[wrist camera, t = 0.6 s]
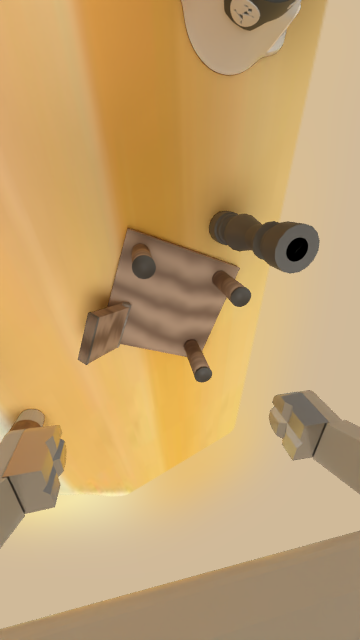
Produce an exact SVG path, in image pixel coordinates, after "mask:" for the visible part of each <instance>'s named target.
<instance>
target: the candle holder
mask: <svg viewBox="0 0 360 640" xmlns="http://www.w3.org/2000/svg"><path fill="white" fill-rule="evenodd" d="M209 232H210V235H211V237H212V238H213V239H214V240H215V241H217V242H219V243H221V244H224V245H228V246H230V247H231V248H232V249H233V250H237V251H246V250H253V252H254V254H255V255H256V256H257V257H258V258H260V259H263V260H265V261H266V262H267V263H268V264H269V265H270V266H272V267H274V268H277V269H279V270H281V271H283V272H287V273H295V272H300V271H301V270H303V269H305V268H306V267H307V266H308V265H309V264H310V263H311V262H312V261H313V260H314V258H315V256H316V254H317V251H318V248H319V238H318V233H317V231H316V230H315V229H314V228H313V227H312V226H309V225H306V224H302V223H295V222H282V223H278V222H275V221H273V222H267V223H265V224H263V225H262V224H261V223H260V222H258V221H257V220H256V219H255V218H254V217H253V216H251V215H248V214H239V215H238V214H237V213H234V212H229V211H222V212H219V213H217V214H216V215H214V217H213V218H212V220H211V222H210V225H209Z"/></svg>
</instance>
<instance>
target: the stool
mask: <svg viewBox="0 0 360 640" xmlns="http://www.w3.org/2000/svg"><path fill="white" fill-rule="evenodd" d="M239 269H240V268H239V267H237V266H235V265H232V264H230V263H227V262H224V261H221V260H218V259H215V258H212V257H210V256H207V255H204V254H201V253H198V252H195V251H193V250H190V249H187V248H184V247H181V246H178V245H176V244H173V243H170V242H167V241H164V240H161V239H159V238H156V237H153V236H150V235H147V234H144V233H142V232H139V231H136V230H133V229H130V228H128V229H127V233H126V237H125V241H124V245H123V249H122V252H121V256H120V260H119V264H118V268H117V272H116V276H115V280H114V284H113V288H112V292H111V295H110V299H109V303H108V307H111V306H114V305H118V304H122V302H127V303H130V304H131V309H130V312H129V315H128V319H127V322H126V326H125V329H124V332H123V336H122V339H121V342H120V344H124V345H129V346H134V347H139V348H144V349H149V350H154V351H160V352H165V353H170V354H175V355H180V356H185V357H188V360H189V362H190V365H191V368H192V371H193V373H194V377H195V379H196V380H197V381H198V382H206V381H208V380H209V379H210V378H211V376H212V371H211V369H210V368H209V366H208V364H207V361H206V359H205V357H204V355H203V353H202V350H203V348H204V345H205V343H206V341H207V339H208V337H209V335H210V332H211V330H212V328H213V326H214V324H215V321H216V319H217V317H218V315H219V313H220V310H221V308H222V306H223V304H224V302H225V300H226V297H227V298H228V299H229V300H230V301H231V302H232V303H233V304H234V305H235V306H237V307H242V306H244V305H246V304H247V303H248V302H249V300H250V298H251V293H250V291H249V289H247V288H246V287H244V286H243V285H242V284H240V283H239V282H238V281H236V280H235V278H236V275H237V273H238V271H239ZM108 307H107V308H108Z"/></svg>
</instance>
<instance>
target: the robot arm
mask: <svg viewBox="0 0 360 640" xmlns="http://www.w3.org/2000/svg"><path fill="white" fill-rule="evenodd" d="M181 1H182V6H183V12H184V18H185V24H186V29H187V32H188V36H189V38H190V41H191V44H192V46H193V48H194V50H195V51H196V53H197V55H198V56H199V58H200V59H201V60H202V61H203V62H204V63H205V64H206V65H207V66H208V67H209V68H211V69H212V70H214V71H215V72H218V73H220V74H225V75H234V74H238V73H241V72H243V71H245V70H247V69H248V68H250V67H251V66H252V65H253V64H254V63H256V62H257V61H258V60H259V59H260V58H262V57H266V56H270V55H273V54H275V53H277V52H278V51H279V49H280V48H281V47H282V45H283V42H284V39H285V35H286V31H287V27H288V26H289V25H290V23H291V22H292V21H293V19H294V18H295V17H296V16H297V14H298V12H299V11H300V8H301V4H300V3H301V0H181ZM273 404H274V407H273V408H272V409H271V410H270V414H269V420H270V425H271V427H272V429H273V431H274V432H275V434H276V435H277V436H279V437H280V438H282V439H283V440H282V445H283V446H284V448H285V449H286V451H287V453H288V454H289V456H290V457H291V459H292V460H298V459H304V458H310V457H313V459H314V460H316V461H317V462H318V463H320V464H321V465H322V466H323V467H325V468H326V469H328V470H329V471H330V472H331V473H333V474H334V475H335V476H337V477H338V478H339V479H340V480H342V481H343V482H345V483H346V484H347V485H348V486H350V487H351V488H353V489H354V490H355V491H356V492H358V493H359V494H360V427H359V426H357V425H355V424H353V423H351V422H348V421H347V420H344V421H342V420H341V419H340V418H339V417H338V416H337V415H336V414H335V413H334V412H333V411H332V410H331V409H330V408H329V407H328V406H327V405H326V404H325V403H324V402H323V401H322V400H321V399H320V398H319V397H318V396H317V395H316V394H315V393H314V392H313V391H310V390H307V391H300V392H293V393H286V394H280V395H276V396H275V397H274V398H273ZM61 434H62V430H61V427H60V426H59V425H55V426H46V427H37V428H28V429H22V430H13V431H9V432H8V433H7V434H6V435H5V436H4V438H3V440H2V442H1V443H0V548H1V547H2V546H3V544H4V543H5V541H6V540H7V539H8V538H9V536H10V535H11V534H12V532H13V531H14V530H15V528H16V527H17V526H18V524H19V523H20V521H21V520H22V519H23V518H24V516H25V515H24V514H26V513H31V512H35V511H40V510H44V509H49V508H53V507H55V504H56V500H57V496H58V492H59V488H60V482H59V479H58V477H59V476H60V475H61V473H62V472H63V471H64V467H65V463H66V445H65V441H63V440H62V439H60V438H61ZM0 640H360V531H357V532H353V533H349V534H346V535H342V536H339V537H335V538H331V539H328V540H324V541H320V542H317V543H313V544H309V545H306V546H302V547H298V548H295V549H291V550H287V551H284V552H280V553H276V554H273V555H269V556H266V557H262V558H258V559H254V560H251V561H247V562H244V563H240V564H236V565H233V566H229V567H225V568H222V569H218V570H214V571H211V572H207V573H203V574H200V575H196V576H193V577H189V578H185V579H182V580H178V581H174V582H171V583H167V584H163V585H160V586H156V587H152V588H149V589H145V590H142V591H138V592H134V593H130V594H127V595H123V596H119V597H116V598H112V599H108V600H105V601H101V602H98V603H94V604H90V605H87V606H83V607H80V608H76V609H72V610H69V611H65V612H61V613H57V614H54V615H51V616H47V617H43V618H39V619H36V620H32V621H28V622H25V623H21V624H17V625H14V626H10V627H6V628H3V629H0Z"/></svg>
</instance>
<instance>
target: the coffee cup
mask: <svg viewBox="0 0 360 640" xmlns="http://www.w3.org/2000/svg"><path fill="white" fill-rule="evenodd" d="M43 422H44V414H43V413H42V412H40V411H38V410H35V409H28V410H25V411H23V412H22V413H21V414H20V415H19V417H18V419H17V420H16V422H15V423H14V425H13V426H12V428H11V429H10V431H13V430H22V429H28V428H37V427H42V426H43Z"/></svg>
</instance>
